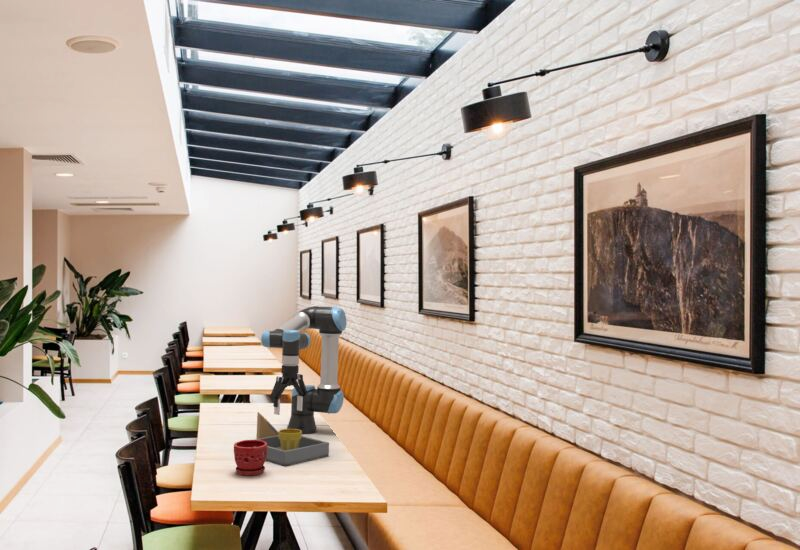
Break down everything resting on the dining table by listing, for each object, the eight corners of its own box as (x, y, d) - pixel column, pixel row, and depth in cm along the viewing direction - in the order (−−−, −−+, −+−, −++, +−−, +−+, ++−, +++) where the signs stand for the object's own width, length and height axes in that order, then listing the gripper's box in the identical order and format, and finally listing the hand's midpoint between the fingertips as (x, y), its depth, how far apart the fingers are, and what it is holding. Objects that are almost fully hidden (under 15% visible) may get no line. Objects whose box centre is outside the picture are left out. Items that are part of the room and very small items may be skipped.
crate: (288, 445, 336) (289, 433, 336) (328, 456, 319) (329, 442, 320) (244, 454, 316) (245, 441, 316) (284, 466, 299) (285, 451, 299)
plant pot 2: (278, 449, 323) (279, 428, 323) (301, 450, 324) (302, 428, 324) (276, 455, 313) (277, 433, 313) (300, 455, 314) (301, 433, 314)
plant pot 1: (237, 467, 294) (238, 438, 294) (269, 469, 294) (270, 440, 294) (228, 476, 281) (230, 445, 281) (262, 478, 281) (263, 447, 281)
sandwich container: (291, 446, 336) (293, 414, 336) (258, 447, 331) (260, 415, 331) (288, 442, 344) (289, 411, 344) (256, 443, 339) (257, 411, 339)
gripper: (304, 361, 331) (302, 407, 331) (263, 365, 312) (261, 414, 312) (316, 363, 326) (314, 410, 326) (274, 367, 307) (272, 417, 307)
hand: (288, 412), depth 319 cm, fingers open, 13 cm apart
